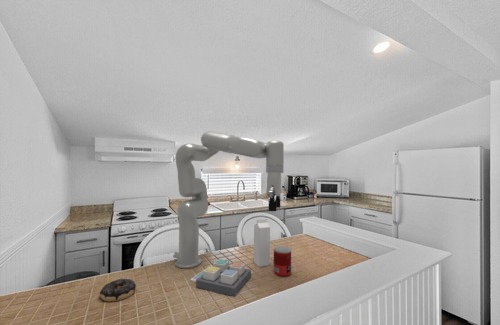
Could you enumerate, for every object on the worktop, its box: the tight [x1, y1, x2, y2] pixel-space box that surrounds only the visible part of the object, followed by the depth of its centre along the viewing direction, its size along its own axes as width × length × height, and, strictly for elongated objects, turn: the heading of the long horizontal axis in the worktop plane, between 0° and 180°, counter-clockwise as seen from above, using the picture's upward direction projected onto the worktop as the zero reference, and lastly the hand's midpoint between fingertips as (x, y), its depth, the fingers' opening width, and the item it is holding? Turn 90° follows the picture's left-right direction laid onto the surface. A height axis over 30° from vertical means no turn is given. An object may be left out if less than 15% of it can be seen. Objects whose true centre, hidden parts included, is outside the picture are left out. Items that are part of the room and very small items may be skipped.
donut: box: [99, 278, 137, 302], centre depth 85 cm, size 11×12×4 cm
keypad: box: [195, 265, 252, 298], centre depth 95 cm, size 17×17×3 cm
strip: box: [189, 268, 206, 283], centre depth 100 cm, size 4×11×1 cm, turn 158°
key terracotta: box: [229, 261, 246, 276], centre depth 98 cm, size 5×5×4 cm
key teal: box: [212, 258, 230, 273], centre depth 101 cm, size 5×5×4 cm
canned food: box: [273, 245, 292, 277], centre depth 104 cm, size 8×8×11 cm
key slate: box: [221, 269, 238, 285], centre depth 90 cm, size 5×5×4 cm
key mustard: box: [202, 265, 220, 281], centre depth 93 cm, size 5×5×4 cm
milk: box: [253, 219, 271, 268], centre depth 114 cm, size 6×6×22 cm
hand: (274, 209), depth 98 cm, fingers open, 9 cm apart
